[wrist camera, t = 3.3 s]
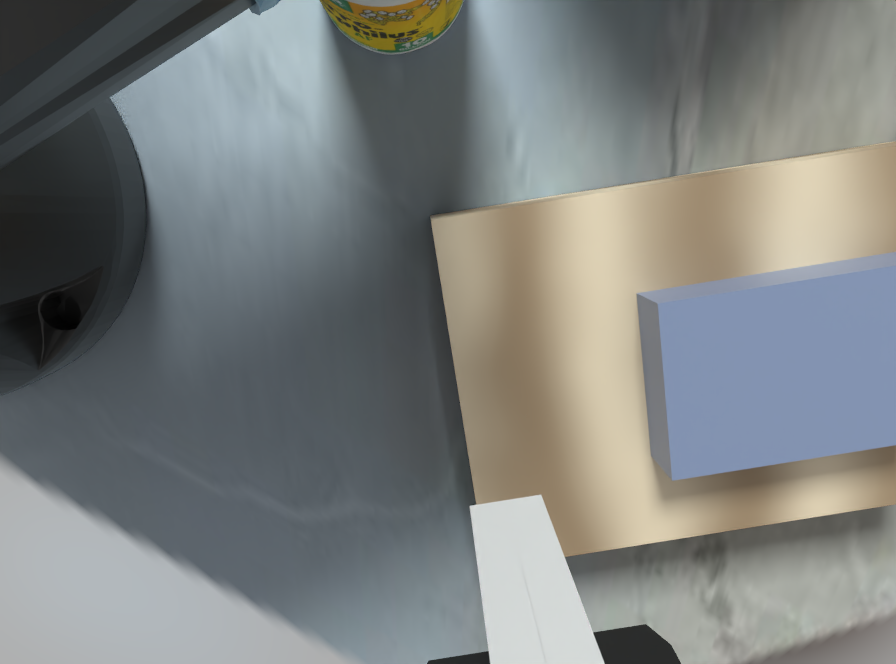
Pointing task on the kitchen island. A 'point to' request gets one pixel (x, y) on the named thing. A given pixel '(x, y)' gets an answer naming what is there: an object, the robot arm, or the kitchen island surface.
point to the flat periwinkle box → (771, 366)
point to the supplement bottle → (393, 22)
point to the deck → (619, 344)
